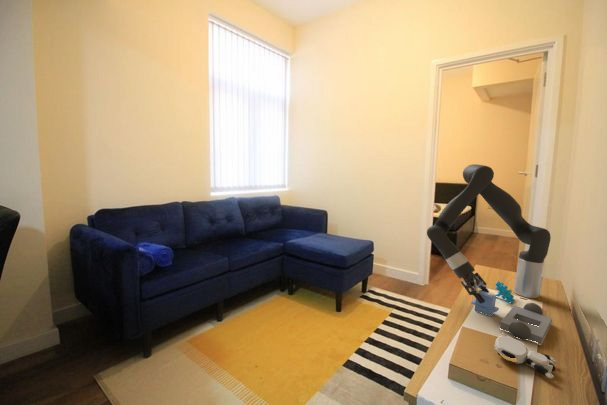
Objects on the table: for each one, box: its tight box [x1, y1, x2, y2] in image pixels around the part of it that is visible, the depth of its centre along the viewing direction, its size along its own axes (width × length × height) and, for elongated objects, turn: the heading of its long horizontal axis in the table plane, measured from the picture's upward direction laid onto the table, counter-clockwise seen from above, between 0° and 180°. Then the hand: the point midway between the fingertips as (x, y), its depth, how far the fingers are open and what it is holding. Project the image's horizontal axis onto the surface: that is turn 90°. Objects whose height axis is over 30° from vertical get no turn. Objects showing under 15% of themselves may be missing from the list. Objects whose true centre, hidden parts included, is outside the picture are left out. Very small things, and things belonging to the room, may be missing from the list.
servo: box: [470, 289, 500, 317], centre depth 117 cm, size 9×4×9 cm, turn 41°
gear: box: [495, 281, 515, 304], centre depth 130 cm, size 11×6×10 cm
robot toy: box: [493, 332, 557, 379], centre depth 87 cm, size 12×4×15 cm
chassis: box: [499, 302, 553, 346], centre depth 106 cm, size 12×23×6 cm, turn 131°
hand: (486, 299), depth 116 cm, fingers open, 8 cm apart
